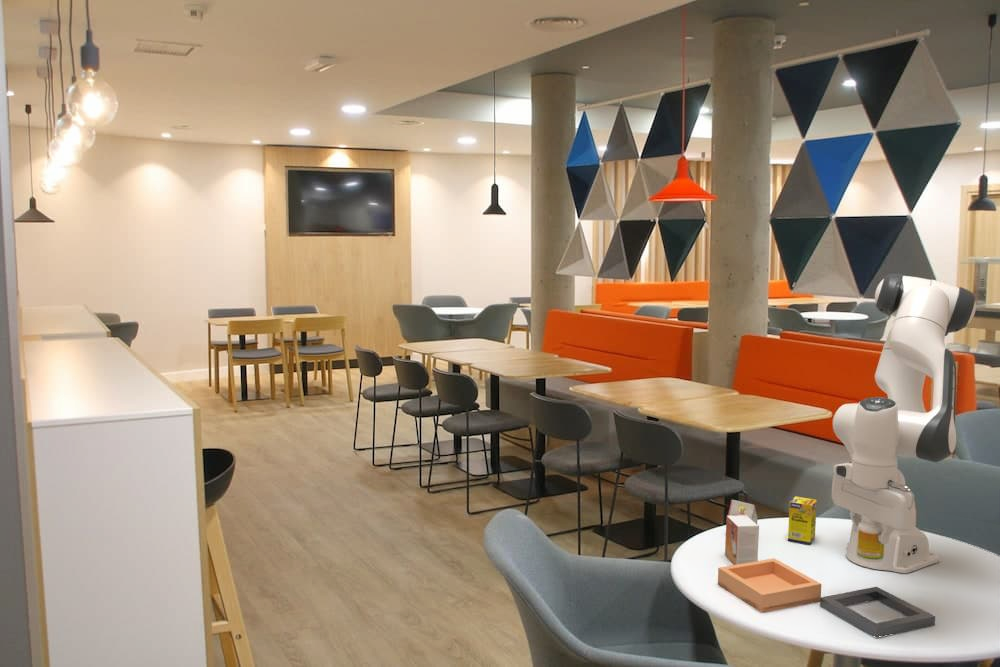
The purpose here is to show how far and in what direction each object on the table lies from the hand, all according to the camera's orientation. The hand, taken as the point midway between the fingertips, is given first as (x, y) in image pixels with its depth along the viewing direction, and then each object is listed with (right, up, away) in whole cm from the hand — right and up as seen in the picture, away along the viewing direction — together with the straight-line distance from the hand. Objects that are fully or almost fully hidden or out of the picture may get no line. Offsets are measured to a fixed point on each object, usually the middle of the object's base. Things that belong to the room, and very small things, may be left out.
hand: (870, 537), depth 180 cm
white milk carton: (-14, -12, +47) cm, 51 cm away
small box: (-19, -14, +32) cm, 39 cm away
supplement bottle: (0, -5, +1) cm, 5 cm away
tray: (-18, -16, +13) cm, 27 cm away
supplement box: (+1, -12, +46) cm, 47 cm away
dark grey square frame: (+2, -17, +1) cm, 17 cm away
